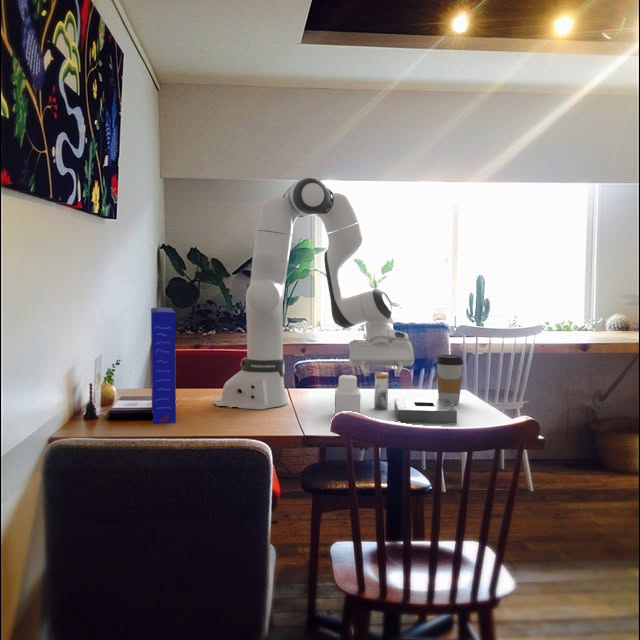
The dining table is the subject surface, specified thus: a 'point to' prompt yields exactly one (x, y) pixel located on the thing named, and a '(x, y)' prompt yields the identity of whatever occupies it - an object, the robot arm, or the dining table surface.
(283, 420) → the dining table surface
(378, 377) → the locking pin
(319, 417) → the dining table surface
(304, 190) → the robot arm
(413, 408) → the collar block
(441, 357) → the coffee cup
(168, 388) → the cereal box
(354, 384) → the medicine bottle
